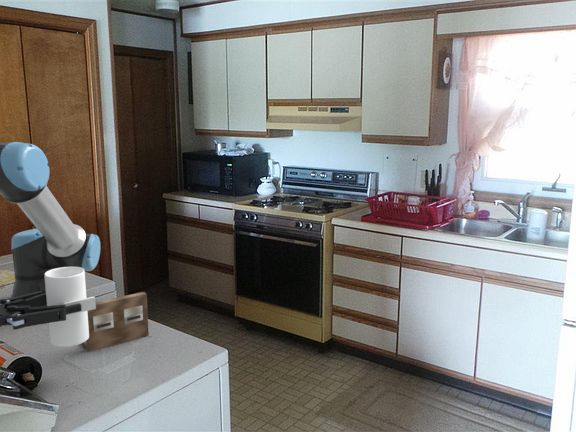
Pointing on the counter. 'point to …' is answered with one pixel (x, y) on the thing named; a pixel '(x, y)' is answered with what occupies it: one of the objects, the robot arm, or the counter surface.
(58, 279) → the cup
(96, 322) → the label board
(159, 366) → the counter surface
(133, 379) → the counter surface
